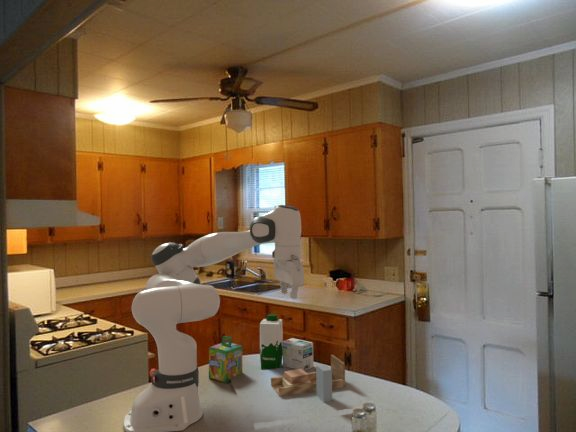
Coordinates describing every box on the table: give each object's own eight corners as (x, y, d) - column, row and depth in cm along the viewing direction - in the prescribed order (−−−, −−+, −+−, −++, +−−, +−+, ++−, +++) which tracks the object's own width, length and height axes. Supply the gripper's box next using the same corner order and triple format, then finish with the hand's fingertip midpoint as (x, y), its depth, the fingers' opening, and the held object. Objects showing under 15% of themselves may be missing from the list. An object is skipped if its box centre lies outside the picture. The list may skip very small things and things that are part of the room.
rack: (279, 400, 141) (279, 371, 141) (270, 388, 150) (270, 361, 150) (345, 390, 148) (344, 363, 148) (333, 379, 158) (332, 354, 158)
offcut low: (288, 393, 143) (288, 385, 143) (282, 385, 150) (282, 378, 150) (311, 389, 146) (311, 382, 146) (304, 382, 152) (304, 375, 152)
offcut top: (291, 384, 144) (291, 377, 144) (284, 378, 150) (283, 371, 150) (308, 381, 147) (308, 374, 147) (300, 375, 152) (300, 368, 152)
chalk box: (208, 378, 160) (207, 338, 160) (225, 371, 168) (224, 332, 168) (226, 383, 155) (226, 342, 155) (243, 375, 163) (243, 336, 163)
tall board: (323, 406, 136) (323, 370, 136) (316, 399, 141) (316, 365, 141) (332, 404, 137) (331, 369, 137) (325, 397, 142) (324, 364, 142)
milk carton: (284, 363, 176) (283, 313, 176) (280, 371, 167) (279, 319, 167) (263, 362, 177) (262, 313, 177) (258, 370, 168) (257, 318, 168)
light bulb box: (314, 369, 168) (313, 341, 168) (303, 374, 163) (303, 346, 163) (293, 363, 175) (292, 337, 175) (281, 368, 170) (281, 340, 170)
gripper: (308, 256, 135) (309, 300, 135) (287, 251, 154) (287, 290, 155) (289, 257, 133) (290, 302, 133) (270, 252, 152) (270, 291, 152)
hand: (288, 295), depth 144 cm, fingers open, 8 cm apart
